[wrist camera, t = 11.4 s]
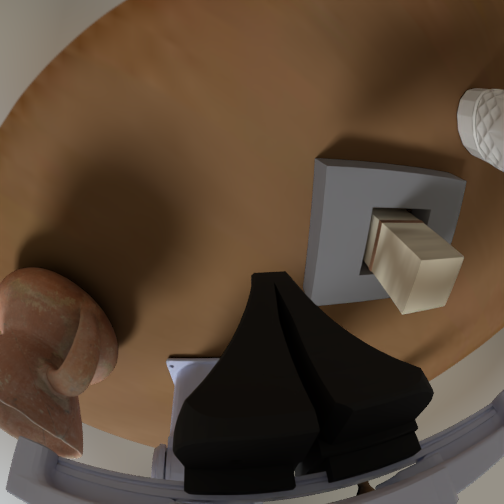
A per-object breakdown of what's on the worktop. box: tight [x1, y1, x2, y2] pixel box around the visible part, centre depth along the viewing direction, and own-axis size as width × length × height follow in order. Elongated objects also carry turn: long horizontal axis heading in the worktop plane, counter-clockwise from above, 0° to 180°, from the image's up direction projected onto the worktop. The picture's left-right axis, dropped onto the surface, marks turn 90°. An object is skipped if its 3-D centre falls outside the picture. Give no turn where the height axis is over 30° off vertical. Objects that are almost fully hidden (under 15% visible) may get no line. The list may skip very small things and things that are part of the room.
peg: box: [363, 208, 464, 314], centre depth 18 cm, size 4×4×8 cm
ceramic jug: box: [0, 267, 118, 459], centre depth 17 cm, size 18×14×14 cm
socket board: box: [303, 158, 466, 306], centre depth 20 cm, size 11×13×2 cm
